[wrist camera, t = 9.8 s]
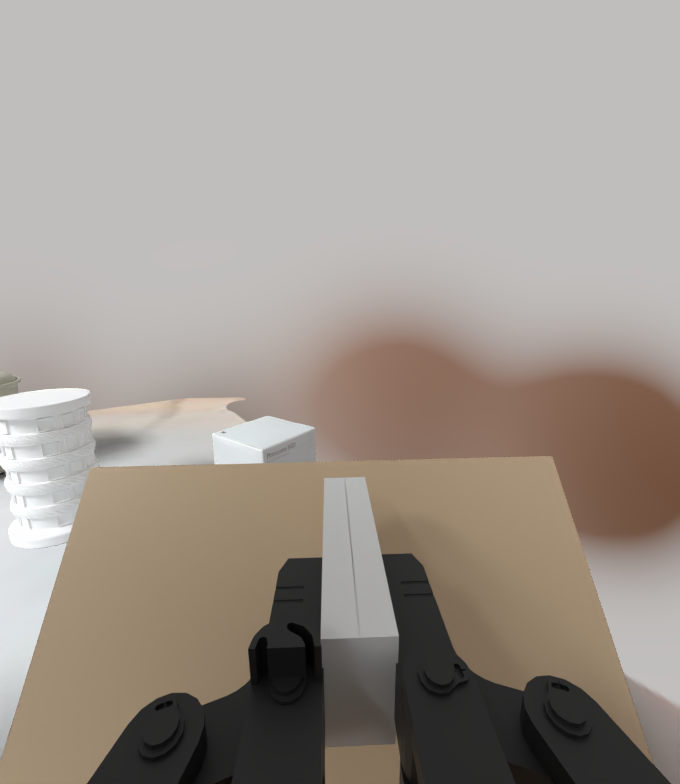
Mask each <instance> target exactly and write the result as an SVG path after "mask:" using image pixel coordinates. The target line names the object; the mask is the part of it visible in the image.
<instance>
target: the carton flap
mask: <svg viewBox="0 0 680 784" xmlns="http://www.w3.org/2000/svg"><path fill="white" fill-rule="evenodd" d="M344 477H365V480H366V485H367V489H368V494H369V499H370V503H371V508H372V513H373V517H374V522H375V527H376V531H377V536H378V541H379V545H380V550H381V554H405V553H412V554H413V555H414V557H415V558H416V559H417V560H418V561H419V562H420V563H421V564H422V565H423V566H424V569H425V572H426V575H427V577H428V580H429V584H430V586H431V588H432V591H433V596H434V597H435V599H436V602H437V605H438V607H439V610H440V613H441V616H442V618H443V621H444V624H445V627H446V629H447V632H448V635H449V638H450V640H451V643H452V646H453V648H454V650H455V652H456V654H457V655H458V656H459V657H460V658H461V659H462V660H463V661H464V662H465V663H466V664H467V666H468V667H469V669H470V670H471V671H473V672H474V673H476V674H477V675H479V676H480V677H482V678H484V679H486V680H489V681H491V682H494V683H497V684H500V685H504V686H507V687H511V688H515V689H518V690H522V691H524V690H525V687H526V684H527V682H529V681H530V680H532V679H533V678H534V677H536V676H546V675H551V676H554V677H558V678H562V679H565V680H567V681H569V682H571V683H572V684H574V685H576V686H578V687H579V688H581V689H582V690H584V691H585V692H586V693H587V694H588V695H589V696H590V697H591V698H593V699H594V700H595V701H596V702H597V703H598V704H599V705H600V706H601V707H602V709H603V710H604V711H605V712H606V713H607V714H608V715H609V716H610V717H611V718H612V720H613V721H614V722H615V723H616V724H617V725H618V726H619V727H620V728H621V729H622V731H623V732H624V733H625V734H626V735H627V736H628V737H629V738H630V739H631V740H632V742H633V743H634V744H635V745H636V746H637V747H638V748H639V749H640V750H641V751H642V753H643V754H644V755H645V756H646V757H647V758H648V759H649V760H650V761H651V762H652V764H653V761H652V758H651V755H650V752H649V749H648V746H647V743H646V740H645V737H644V734H643V731H642V728H641V725H640V722H639V719H638V715H637V712H636V709H635V706H634V703H633V700H632V697H631V694H630V691H629V688H628V685H627V682H626V679H625V676H624V673H623V670H622V667H621V664H620V661H619V658H618V655H617V652H616V649H615V646H614V643H613V640H612V637H611V634H610V631H609V628H608V625H607V622H606V618H605V615H604V613H603V609H602V606H601V603H600V600H599V597H598V594H597V591H596V588H595V585H594V582H593V579H592V576H591V573H590V570H589V567H588V564H587V561H586V558H585V555H584V552H583V549H582V546H581V543H580V540H579V537H578V534H577V531H576V528H575V525H574V521H573V519H572V515H571V512H570V509H569V506H568V503H567V501H566V497H565V494H564V491H563V488H562V485H561V482H560V479H559V476H558V473H557V470H556V467H555V464H554V461H553V458H552V456H538V457H498V458H461V459H460V458H458V459H418V460H417V459H416V460H377V461H376V460H375V461H339V462H338V461H337V462H294V463H253V464H212V465H172V466H131V467H90V470H89V473H88V476H87V480H86V483H85V486H84V490H83V493H82V496H81V499H80V503H79V506H78V509H77V513H76V516H75V519H74V522H73V526H72V529H71V532H70V535H69V539H68V542H67V545H66V549H65V552H64V555H63V558H62V562H61V565H60V568H59V572H58V575H57V578H56V581H55V585H54V588H53V591H52V594H51V598H50V601H49V604H48V608H47V611H46V614H45V617H44V621H43V624H42V627H41V631H40V634H39V637H38V640H37V644H36V647H35V650H34V653H33V657H32V660H31V663H30V667H29V670H28V673H27V676H26V680H25V683H24V686H23V690H22V693H21V696H20V699H19V703H18V706H17V709H16V713H15V716H14V719H13V722H12V726H11V729H10V732H9V735H8V739H7V742H6V745H5V749H4V752H3V755H2V758H1V762H0V784H87V783H88V781H89V780H90V778H91V777H92V776H93V774H94V773H95V771H96V770H97V768H98V767H99V765H100V764H101V763H102V761H103V760H104V758H105V757H106V755H107V754H108V752H109V751H110V750H111V748H112V747H113V745H114V744H115V742H116V741H117V739H118V738H119V736H120V735H121V734H122V732H123V731H124V729H125V728H126V726H127V725H128V724H129V723H130V721H131V720H132V719H133V718H134V717H135V716H136V715H137V713H138V712H139V711H140V710H141V709H142V708H144V707H145V706H147V705H148V704H149V703H151V702H152V701H154V700H155V699H157V698H159V697H162V696H165V695H167V694H170V693H188V694H190V695H192V696H194V697H196V698H198V700H199V702H200V704H201V705H204V704H206V703H209V702H212V701H214V700H217V699H220V698H222V697H225V696H227V695H229V694H231V693H233V692H235V691H237V690H238V689H240V688H241V687H242V686H243V685H245V684H246V683H247V682H248V681H249V680H250V667H249V656H248V648H249V646H250V643H251V641H252V639H253V637H254V636H255V634H256V633H257V632H258V631H259V630H260V629H261V628H262V627H263V626H265V625H267V624H269V621H270V615H271V610H272V605H273V599H274V594H275V590H276V583H277V578H278V572H279V570H280V569H281V568H282V566H283V565H284V564H285V562H286V561H287V560H288V558H318V557H322V554H323V510H324V478H344ZM653 765H654V764H653ZM399 777H400V753H399V746H398V740H397V734H396V743H395V744H388V745H366V746H346V747H325V784H399Z"/></svg>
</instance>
